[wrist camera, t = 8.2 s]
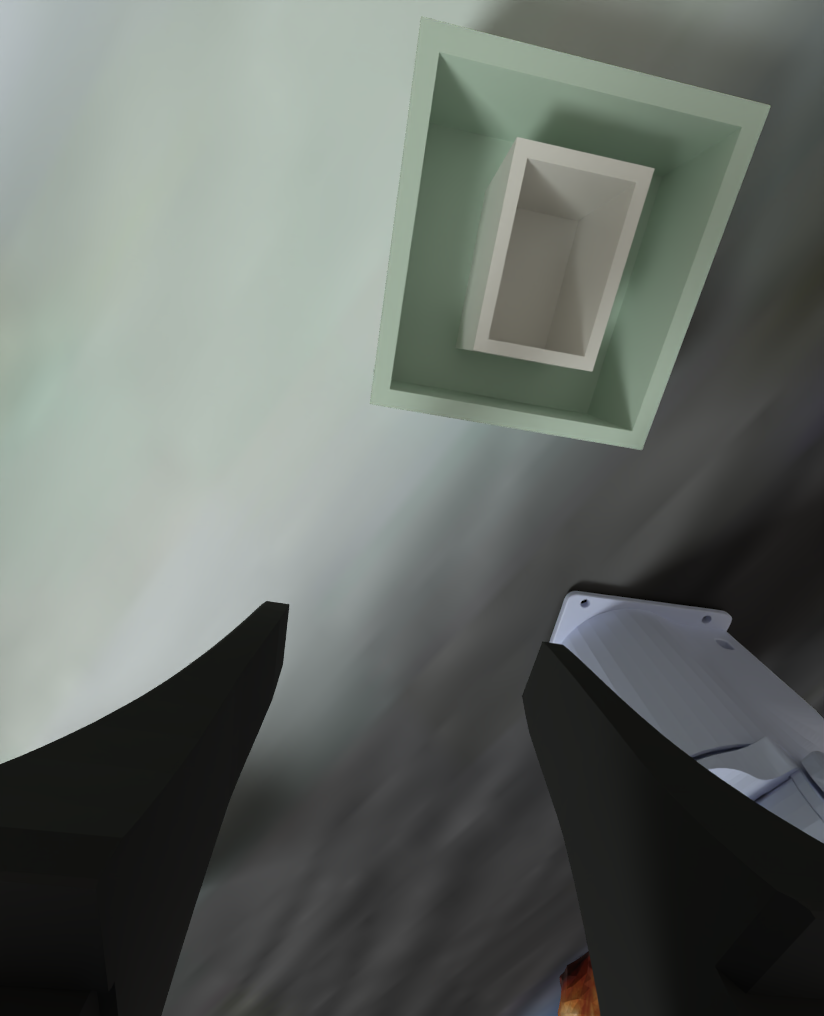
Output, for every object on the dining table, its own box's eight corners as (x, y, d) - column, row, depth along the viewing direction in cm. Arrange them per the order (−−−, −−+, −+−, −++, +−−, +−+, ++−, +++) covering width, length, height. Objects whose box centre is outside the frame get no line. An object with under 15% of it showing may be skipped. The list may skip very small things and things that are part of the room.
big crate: (673, 167, 16) (771, 105, 12) (590, 427, 20) (642, 449, 15) (414, 106, 15) (421, 16, 11) (376, 390, 19) (369, 404, 15)
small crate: (587, 213, 16) (654, 168, 12) (547, 364, 18) (592, 371, 14) (485, 191, 16) (517, 136, 11) (455, 348, 18) (473, 350, 13)
